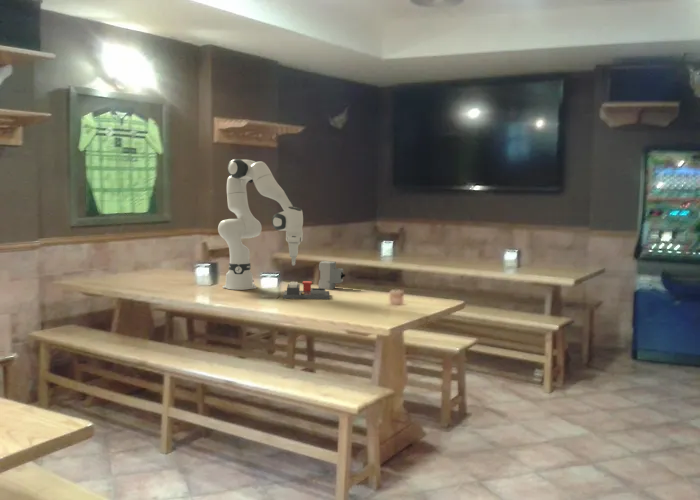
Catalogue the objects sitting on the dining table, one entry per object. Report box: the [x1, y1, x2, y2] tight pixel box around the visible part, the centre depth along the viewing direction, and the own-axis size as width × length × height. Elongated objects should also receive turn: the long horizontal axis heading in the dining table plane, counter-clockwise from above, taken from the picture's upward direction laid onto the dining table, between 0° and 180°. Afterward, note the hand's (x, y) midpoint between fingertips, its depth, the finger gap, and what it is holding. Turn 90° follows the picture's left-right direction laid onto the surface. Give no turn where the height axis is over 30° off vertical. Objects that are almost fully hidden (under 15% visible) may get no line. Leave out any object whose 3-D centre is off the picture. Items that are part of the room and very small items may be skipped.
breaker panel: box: [282, 283, 330, 300], centre depth 361 cm, size 14×24×6 cm, turn 93°
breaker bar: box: [288, 281, 298, 288], centre depth 361 cm, size 11×4×3 cm, turn 3°
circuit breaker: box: [318, 260, 346, 290], centre depth 391 cm, size 8×14×15 cm, turn 78°
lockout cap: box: [302, 280, 313, 291], centre depth 374 cm, size 5×5×6 cm
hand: (293, 264), depth 360 cm, fingers open, 8 cm apart
